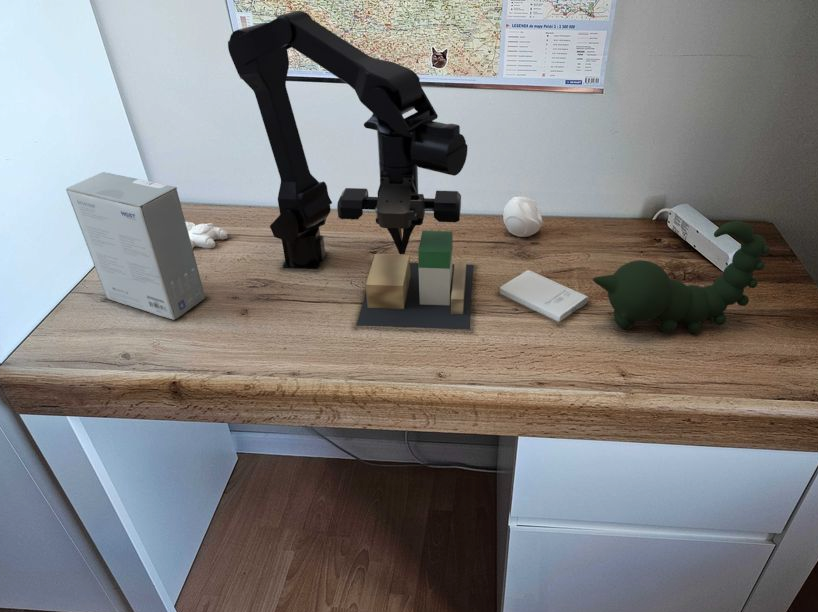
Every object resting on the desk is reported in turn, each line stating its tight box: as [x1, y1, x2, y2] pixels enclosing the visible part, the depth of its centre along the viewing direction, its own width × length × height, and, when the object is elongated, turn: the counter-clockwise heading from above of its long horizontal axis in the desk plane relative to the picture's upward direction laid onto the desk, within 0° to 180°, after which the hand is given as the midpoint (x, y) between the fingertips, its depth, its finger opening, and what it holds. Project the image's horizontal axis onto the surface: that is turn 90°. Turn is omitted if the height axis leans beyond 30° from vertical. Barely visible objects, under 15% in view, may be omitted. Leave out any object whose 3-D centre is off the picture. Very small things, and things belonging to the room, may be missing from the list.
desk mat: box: [355, 262, 474, 331], centre depth 113 cm, size 18×20×1 cm
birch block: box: [365, 253, 411, 309], centre depth 112 cm, size 6×10×4 cm, turn 177°
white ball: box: [502, 195, 544, 238], centre depth 128 cm, size 8×8×8 cm
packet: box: [417, 230, 454, 305], centre depth 110 cm, size 9×7×11 cm
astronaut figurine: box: [185, 221, 229, 250], centre depth 128 cm, size 9×12×3 cm
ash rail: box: [451, 260, 467, 315], centre depth 112 cm, size 2×12×3 cm, turn 177°
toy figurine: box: [592, 220, 771, 334], centre depth 101 cm, size 9×19×25 cm
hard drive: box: [498, 269, 589, 323], centre depth 112 cm, size 2×8×12 cm
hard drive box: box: [65, 171, 206, 321], centre depth 106 cm, size 16×8×20 cm, turn 65°
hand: (402, 253), depth 109 cm, fingers closed
